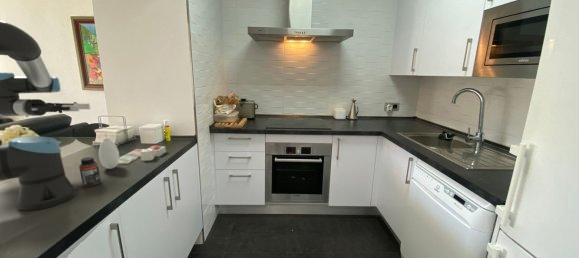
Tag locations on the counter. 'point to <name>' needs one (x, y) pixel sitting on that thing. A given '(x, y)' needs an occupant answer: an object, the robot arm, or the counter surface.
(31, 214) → the counter surface
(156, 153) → the button housing
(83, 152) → the counter surface
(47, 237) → the counter surface
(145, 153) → the ivory die
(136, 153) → the track board
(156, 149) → the red button
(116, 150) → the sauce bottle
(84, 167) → the supplement bottle
